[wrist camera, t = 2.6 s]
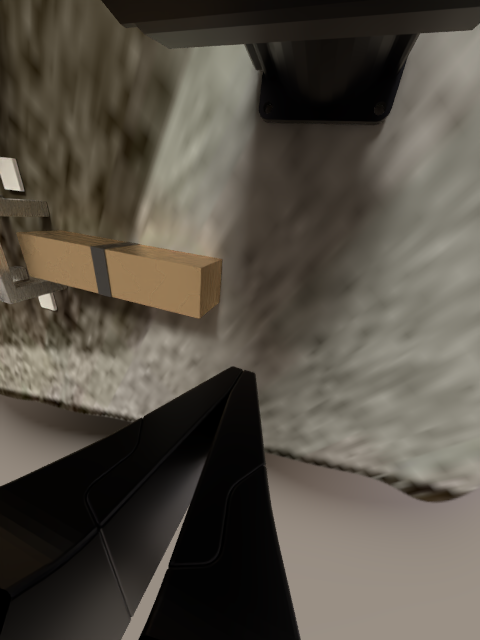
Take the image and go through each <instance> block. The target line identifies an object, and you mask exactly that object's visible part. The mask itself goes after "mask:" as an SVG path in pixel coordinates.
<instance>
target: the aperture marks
mask: <svg viewBox="0 0 480 640" xmlns="http://www.w3.org/2000/svg"><path fill="white" fill-rule="evenodd" d="M0 175H1V178H2V181H3V184H4V188H5V189H8V190H16V191H24V187H23V184H22V180H21V176H20V173H19V169H18V166H17V162H16V159H13V158H3V157H0ZM38 297H39V301H40V304H41V307H44V308H47V309H50V310H54V311H55V310H57V306H56V303H55V299H54V296H53V292H52V293H49V294H45V295H41V296H38Z"/></svg>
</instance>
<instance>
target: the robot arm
mask: <svg viewBox="0 0 480 640" xmlns="http://www.w3.org/2000/svg"><path fill="white" fill-rule="evenodd" d="M101 1H102V2H103V3H104V4H105V6H106V7H107V8H108V9H109V10H110V12H111V13H112V14H113V15H114V17H115V18H116V19H117V20H118V21H119V23H120V24H121V25H123V26H124V27H126V28H130V27H138V28H139V29H140V30H141V31H142V32H143V33H144V34H145V35H147V36H149V37H150V38H152V39H154V40H156V41H157V42H159V43H161V44H162V45H164V46H166V47H167V48H169V49H172V48H188V47H204V46H221V45H237V44H244V45H245V47H246V50H247V52H248V54H249V56H250V59H251V61H252V63H253V65H254V67H255V69H256V70H263V75H262V85H261V94H260V103H259V113H260V116H261V117H262V119H263V120H264V121H265V122H278V123H321V124H365V125H376V124H379V123H381V122H383V121H384V120H385V119H386V117H387V116H388V115H389V113H390V111H391V109H392V106H393V102H394V99H395V96H396V93H397V90H398V86H399V83H400V80H401V77H402V73H403V70H404V67H405V64H406V60H407V57H408V55H409V53H410V51H411V49H412V47H413V46H414V44H415V42H416V40H417V38H418V36H419V34H420V33H433V32H449V31H466V30H473V29H474V28H475V27H476V26H477V25H478V24H479V23H480V0H101ZM268 105H273V108H272V111H271V112H270V113H268V114H266V113H265V109H266V107H267V106H268ZM378 105H382V106H383V107H384V113H382V114H381V115H376V114H375V113H374V108H375V107H376V106H378ZM265 465H266V463H265V453H264V444H263V436H262V427H261V418H260V409H259V400H258V392H257V383H256V375H255V373H254V372H250V371H247V370H244V371H243V370H242V369H240V368H237V367H233V366H232V367H230V368H228V369H226V370H224V371H223V372H221V373H219V374H217V375H216V376H214V377H212V378H210V379H209V380H207V381H205V382H203V383H202V384H200V385H198V386H196V387H195V388H193V389H191V390H189V391H187V392H186V393H184V394H182V395H180V396H179V397H177V398H175V399H173V400H172V401H170V402H168V403H166V404H165V405H163V406H161V407H159V408H158V409H156V410H154V411H152V412H150V413H149V414H147V415H145V416H144V417H143V418H140V419H138V420H136V421H134V422H133V423H131V424H129V425H127V426H125V427H124V428H122V429H120V430H118V431H116V432H115V433H112V434H111V435H109V436H107V437H105V438H103V439H101V440H99V441H97V442H95V443H93V444H91V445H89V446H87V447H84V448H82V449H80V450H78V451H76V452H74V453H72V454H70V455H68V456H65V457H63V458H61V459H59V460H57V461H55V462H53V463H51V464H48V465H46V466H44V467H42V468H40V469H38V470H35V471H34V472H31V473H29V474H27V475H25V476H23V477H20V478H18V479H16V480H14V481H12V482H10V483H7V484H5V485H3V486H0V640H121V639H122V636H123V635H124V633H125V631H126V629H127V627H128V625H129V623H130V620H131V617H132V616H133V615H134V613H135V611H136V609H137V607H138V605H139V603H140V601H141V599H142V597H143V595H144V593H145V591H146V589H147V587H148V585H149V583H150V581H151V579H152V577H153V575H154V573H155V571H156V569H157V567H158V565H159V563H160V561H161V559H162V557H163V555H164V553H165V552H166V550H167V548H168V546H169V544H170V542H171V540H172V538H173V536H174V534H175V531H176V530H177V528H178V526H179V524H180V522H181V520H182V518H183V516H184V514H185V512H186V510H187V508H188V506H189V504H190V506H189V508H188V511H187V514H186V517H185V520H184V523H183V525H182V528H181V531H180V534H179V537H178V539H177V542H176V545H175V548H174V551H173V554H172V557H171V559H170V562H169V568H168V569H167V571H166V574H165V576H164V579H163V582H162V584H161V587H160V590H159V592H158V595H157V597H156V600H155V602H154V605H153V608H152V610H151V612H150V615H149V617H148V620H147V622H146V624H145V626H144V629H143V631H142V633H141V636H140V638H139V640H301V639H300V634H299V630H298V626H297V621H296V617H295V612H294V608H293V603H292V600H291V595H290V591H289V586H288V582H287V577H286V573H285V569H284V564H283V560H282V555H281V551H280V546H279V542H278V537H277V532H276V528H275V522H274V517H273V512H272V507H271V500H270V493H269V486H268V478H267V471H266V470H267V469H266V467H265ZM190 502H191V503H190Z"/></svg>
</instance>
